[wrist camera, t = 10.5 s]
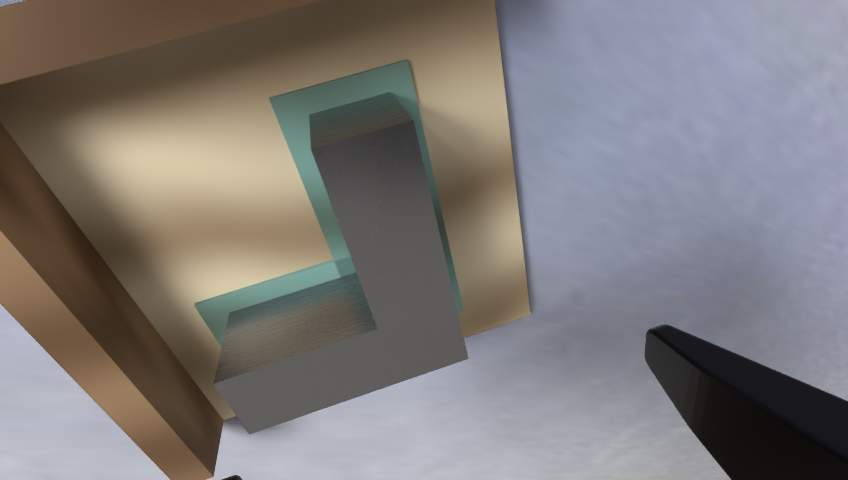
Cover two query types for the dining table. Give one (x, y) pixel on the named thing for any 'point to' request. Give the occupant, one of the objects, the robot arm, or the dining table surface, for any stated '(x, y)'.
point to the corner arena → (225, 180)
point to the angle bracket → (352, 283)
